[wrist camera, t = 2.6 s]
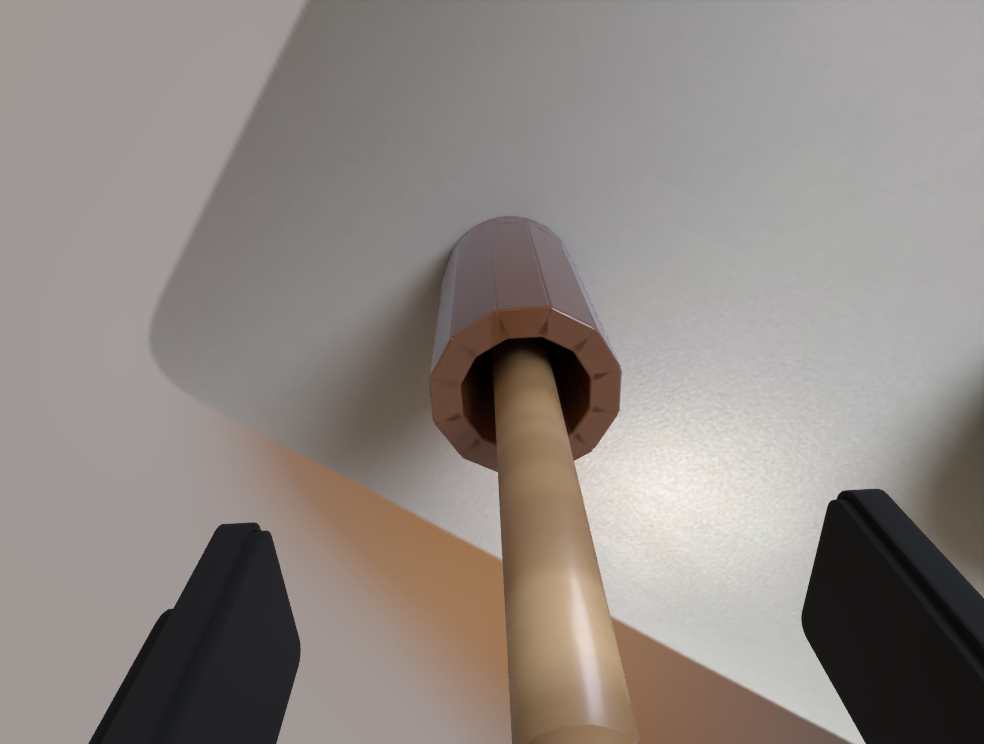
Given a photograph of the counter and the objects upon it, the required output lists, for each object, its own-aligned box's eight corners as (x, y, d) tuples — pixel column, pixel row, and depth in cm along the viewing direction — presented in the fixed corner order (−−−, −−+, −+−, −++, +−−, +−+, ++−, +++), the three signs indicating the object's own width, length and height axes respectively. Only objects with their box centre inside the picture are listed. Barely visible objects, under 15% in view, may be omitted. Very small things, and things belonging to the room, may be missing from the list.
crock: (440, 219, 23) (421, 313, 15) (573, 212, 23) (625, 302, 15) (450, 340, 25) (439, 479, 17) (572, 334, 25) (617, 469, 17)
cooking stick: (487, 268, 23) (514, 801, 7) (531, 266, 23) (665, 792, 7) (489, 310, 23) (519, 879, 7) (532, 308, 23) (655, 871, 7)
